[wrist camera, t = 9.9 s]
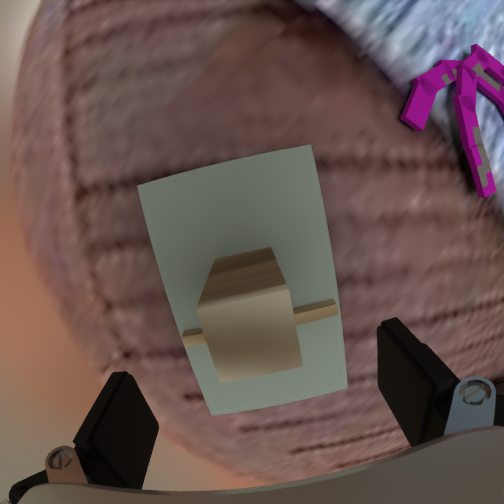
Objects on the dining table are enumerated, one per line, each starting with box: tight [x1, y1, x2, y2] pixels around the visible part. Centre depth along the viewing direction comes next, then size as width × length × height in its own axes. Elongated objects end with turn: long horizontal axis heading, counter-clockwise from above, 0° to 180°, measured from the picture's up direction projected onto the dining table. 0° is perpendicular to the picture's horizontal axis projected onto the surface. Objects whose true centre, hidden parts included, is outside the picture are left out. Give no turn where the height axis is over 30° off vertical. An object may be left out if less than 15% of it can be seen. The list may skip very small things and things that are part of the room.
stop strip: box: [182, 299, 338, 347], centre depth 25 cm, size 1×13×1 cm, turn 103°
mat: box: [137, 145, 348, 416], centre depth 25 cm, size 23×14×1 cm, turn 13°
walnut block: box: [196, 247, 303, 383], centre depth 19 cm, size 4×4×10 cm
